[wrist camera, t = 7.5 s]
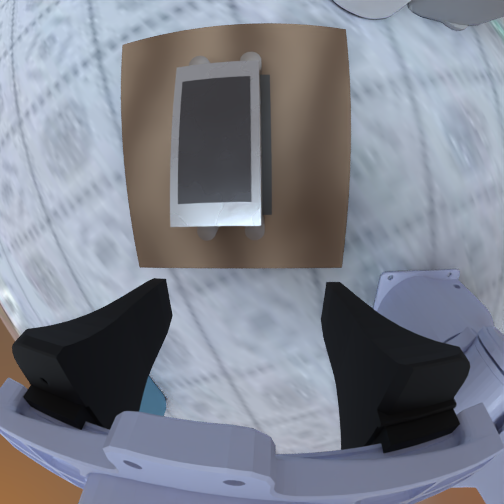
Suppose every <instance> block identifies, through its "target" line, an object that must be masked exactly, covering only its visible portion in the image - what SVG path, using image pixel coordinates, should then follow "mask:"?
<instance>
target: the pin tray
mask: <svg viewBox="0 0 504 504" xmlns="http://www.w3.org/2000/svg"><path fill="white" fill-rule="evenodd" d="M253 60H259V77H260V97H261V147H262V225H261V226H196V227H170V159H171V134H172V116H173V102H174V91H175V80H176V70H177V68H178V67H184V66H191V65H199V64H208V63H218V62H231V61H253ZM121 119H122V140H123V154H124V166H125V176H126V185H127V194H128V201H129V209H130V216H131V222H132V228H133V234H134V240H135V246H136V251H137V256H138V261H139V266H140V267H148V268H342V261H343V253H344V244H345V234H346V223H347V211H348V197H349V180H350V154H351V101H350V76H349V60H348V48H347V37H346V29H339V28H332V27H323V26H313V25H300V24H273V23H264V24H236V25H223V26H213V27H205V28H197V29H191V30H184V31H179V32H173V33H168V34H163V35H159V36H154V37H150V38H146V39H142V40H138V41H135V42H131V43H128V44H124V45H123V47H122V67H121Z"/></svg>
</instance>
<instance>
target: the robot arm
mask: <svg viewBox="0 0 504 504" xmlns="http://www.w3.org/2000/svg"><path fill="white" fill-rule="evenodd" d="M450 272H451V273H450ZM449 273H450V275H449V276H448V274H449ZM390 275H392V278H391V279H388V277H389V276H390ZM459 275H460V271H459V270H458V269H444V270H420V271H391V272H383V273H382V274H381V275H380V279H379V284H378V288H377V293H376V297H375V302H374V306H373V308H371V307H370V306H369V305H367V304H366V303H365V302H364V301H362V300H361V299H360V298H359V297H357V296H356V295H355V294H354V293H353V292H351V291H350V290H349V289H348V288H347V287H345V286H344V285H343V284H342V283H340V282H326V290H325V297H324V303H323V310H322V316H321V324H322V331H323V338H324V341H325V345H326V349H327V352H328V356H329V359H330V363H331V366H332V370H333V374H334V378H335V382H336V389H337V396H338V405H339V415H340V429H341V450H336V451H327V452H316V453H300V454H275V444H274V442H273V440H272V438H271V437H270V436H268V435H267V434H264V433H262V432H260V431H258V430H256V429H254V428H249V427H243V426H237V425H230V424H218V423H207V422H199V421H191V420H184V419H177V418H171V417H165V416H160V415H154V414H149V413H145V412H139V410H140V406H141V401H142V397H143V393H144V390H145V386H146V383H147V379H148V376H149V373H150V371H151V368H152V366H153V364H154V361H155V359H156V357H157V355H158V353H159V350H160V348H161V346H162V344H163V342H164V340H165V337H166V335H167V333H168V329H169V326H170V323H171V319H172V310H171V305H170V300H169V294H168V288H167V283H166V279H156V278H154V279H152V280H149V281H148V282H146V283H144V284H142V285H141V286H139V287H137V288H136V289H134V290H132V291H131V292H129V293H128V294H126V295H124V296H123V297H121V298H119V299H117V300H115V301H114V302H112V303H110V304H108V305H107V306H105V307H103V308H101V309H98V310H96V311H94V312H92V313H89V314H87V315H84V316H81V317H79V318H76V319H73V320H70V321H67V322H63V323H59V324H55V325H51V326H45V327H38V328H31V329H27V330H25V331H24V332H23V334H22V335H21V336H20V337H19V338H18V339H17V340H16V341H15V342H14V344H13V346H12V351H13V355H14V358H15V360H16V362H17V364H18V365H19V367H20V369H21V370H22V372H23V373H24V375H25V376H26V378H27V379H28V381H29V382H30V384H31V386H30V387H29V389H27V388H26V387H25V386H23V385H22V384H20V383H18V382H16V381H14V380H13V379H11V378H8V379H7V380H6V381H5V382H4V384H3V385H2V387H1V388H0V434H1V435H2V436H4V437H5V439H7V440H8V441H9V442H10V443H11V444H12V445H13V446H14V447H15V448H17V449H18V450H19V451H21V452H22V453H24V454H25V455H26V456H28V457H29V458H31V459H32V460H34V461H35V462H37V463H38V464H40V465H42V466H43V467H45V468H46V469H48V470H50V471H51V472H53V473H55V474H56V475H58V476H60V477H62V478H63V479H65V480H67V481H69V482H70V483H72V484H74V485H76V486H78V487H80V488H82V489H83V492H82V495H81V498H80V500H79V503H78V504H414V503H416V502H419V501H422V500H424V499H427V498H429V497H431V496H434V495H436V494H438V493H440V492H442V491H444V490H447V489H449V488H451V487H476V488H477V490H478V491H479V493H480V495H481V496H482V498H483V499H484V501H485V503H486V504H504V334H503V333H501V332H500V331H499V330H498V329H497V328H496V327H494V322H493V319H492V316H491V314H490V312H489V311H488V309H487V308H486V307H485V306H484V305H483V304H482V303H481V302H480V301H479V300H478V299H477V298H476V297H475V296H474V295H473V294H472V293H471V292H470V291H469V290H468V289H467V288H466V287H465V286H464V285H463V284H462V283H461V282H460V281H459V280H458V278H459Z"/></svg>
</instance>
